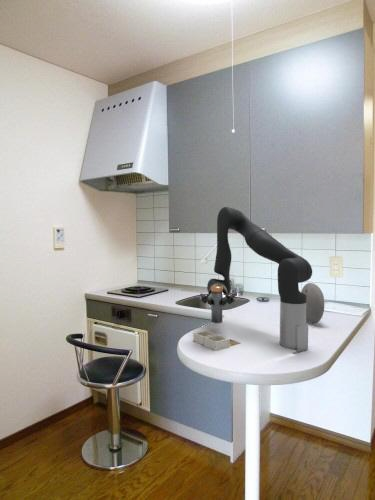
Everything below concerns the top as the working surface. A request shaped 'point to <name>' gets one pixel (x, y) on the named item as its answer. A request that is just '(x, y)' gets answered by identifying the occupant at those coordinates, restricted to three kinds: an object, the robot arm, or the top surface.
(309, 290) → the grey round disc
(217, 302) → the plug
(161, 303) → the top surface
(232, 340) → the board
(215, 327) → the top surface
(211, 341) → the brass-tag socket
